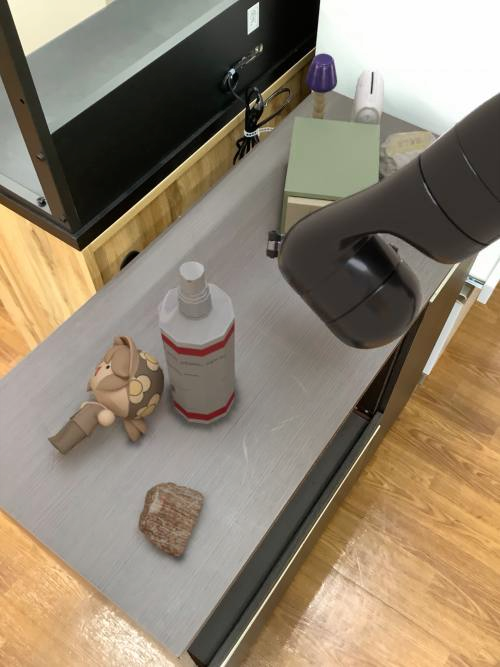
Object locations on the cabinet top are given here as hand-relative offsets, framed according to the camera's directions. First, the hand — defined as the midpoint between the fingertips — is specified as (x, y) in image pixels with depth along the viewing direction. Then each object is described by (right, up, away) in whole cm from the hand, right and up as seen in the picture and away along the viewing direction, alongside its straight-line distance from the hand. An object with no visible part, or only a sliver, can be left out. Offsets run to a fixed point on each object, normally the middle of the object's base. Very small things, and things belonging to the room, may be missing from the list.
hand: (327, 246), depth 76 cm
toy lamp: (+1, +19, +27) cm, 33 cm away
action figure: (-26, -21, 0) cm, 34 cm away
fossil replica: (+16, +13, +24) cm, 31 cm away
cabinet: (+2, +9, +20) cm, 22 cm away
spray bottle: (-15, -18, +2) cm, 24 cm away
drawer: (+2, +6, +17) cm, 19 cm away
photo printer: (+9, +20, +28) cm, 35 cm away
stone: (-18, -32, -6) cm, 37 cm away
